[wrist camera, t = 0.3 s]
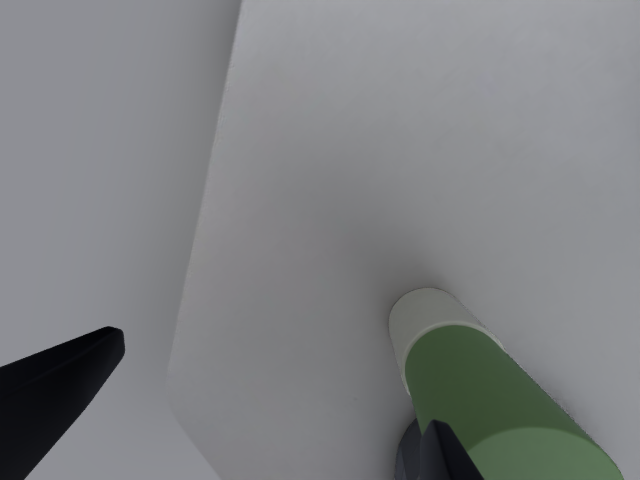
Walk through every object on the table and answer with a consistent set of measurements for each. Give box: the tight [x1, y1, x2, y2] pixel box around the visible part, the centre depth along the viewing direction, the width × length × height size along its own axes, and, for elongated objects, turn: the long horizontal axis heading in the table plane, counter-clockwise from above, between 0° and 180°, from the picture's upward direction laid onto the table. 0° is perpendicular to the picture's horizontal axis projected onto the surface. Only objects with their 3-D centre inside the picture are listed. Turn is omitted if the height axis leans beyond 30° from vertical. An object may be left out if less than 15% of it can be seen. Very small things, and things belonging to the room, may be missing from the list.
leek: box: [388, 288, 624, 480], centre depth 15 cm, size 5×5×13 cm
